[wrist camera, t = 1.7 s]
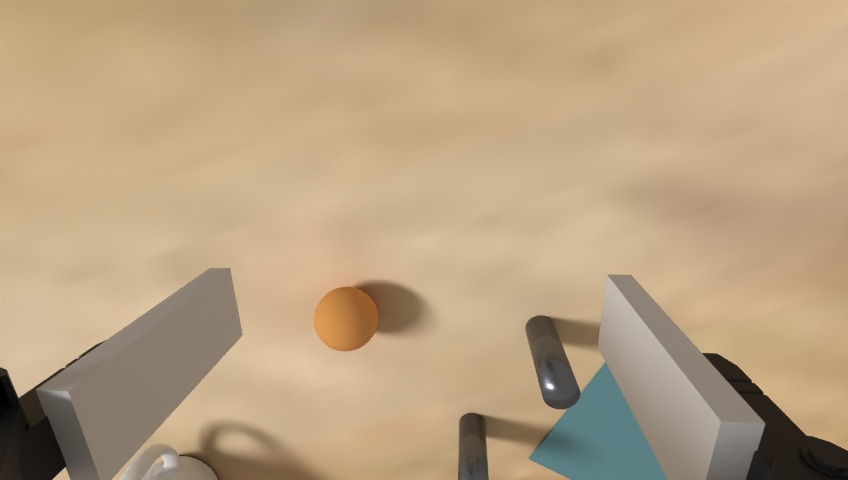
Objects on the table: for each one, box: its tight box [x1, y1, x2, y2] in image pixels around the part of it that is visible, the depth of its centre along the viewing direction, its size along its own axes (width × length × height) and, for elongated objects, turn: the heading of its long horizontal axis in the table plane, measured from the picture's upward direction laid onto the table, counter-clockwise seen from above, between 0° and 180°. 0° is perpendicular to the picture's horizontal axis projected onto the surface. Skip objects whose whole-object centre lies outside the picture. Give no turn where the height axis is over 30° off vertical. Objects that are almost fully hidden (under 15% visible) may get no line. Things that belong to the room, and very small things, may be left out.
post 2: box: [526, 316, 580, 409], centre depth 34 cm, size 3×3×9 cm
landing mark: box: [529, 363, 667, 480], centre depth 41 cm, size 14×14×1 cm
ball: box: [314, 287, 378, 351], centre depth 37 cm, size 6×6×6 cm
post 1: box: [458, 413, 489, 480], centre depth 38 cm, size 3×3×9 cm
